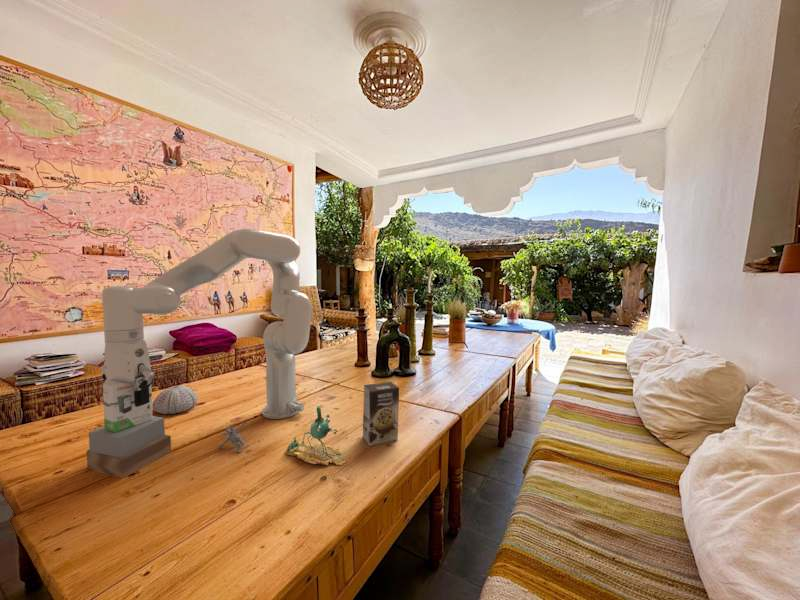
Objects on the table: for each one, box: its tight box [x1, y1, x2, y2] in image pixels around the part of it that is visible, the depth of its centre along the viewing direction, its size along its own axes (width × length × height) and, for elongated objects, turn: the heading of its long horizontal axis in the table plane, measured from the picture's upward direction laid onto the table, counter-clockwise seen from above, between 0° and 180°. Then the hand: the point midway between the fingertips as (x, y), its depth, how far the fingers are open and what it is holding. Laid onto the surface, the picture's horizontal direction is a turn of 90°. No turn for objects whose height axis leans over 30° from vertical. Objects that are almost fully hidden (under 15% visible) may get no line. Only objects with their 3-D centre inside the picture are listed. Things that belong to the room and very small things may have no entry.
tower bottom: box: [86, 434, 172, 479], centre depth 85 cm, size 12×12×5 cm
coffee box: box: [362, 381, 400, 447], centre depth 98 cm, size 9×6×16 cm
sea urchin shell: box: [152, 385, 199, 415], centre depth 116 cm, size 13×14×8 cm
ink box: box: [102, 377, 154, 432], centre depth 84 cm, size 9×5×12 cm, turn 153°
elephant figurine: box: [218, 421, 248, 454], centre depth 92 cm, size 9×5×8 cm
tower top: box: [88, 415, 166, 458], centre depth 84 cm, size 10×11×5 cm
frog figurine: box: [284, 406, 347, 466], centre depth 88 cm, size 10×18×15 cm, turn 66°
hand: (128, 401), depth 84 cm, fingers open, 9 cm apart
